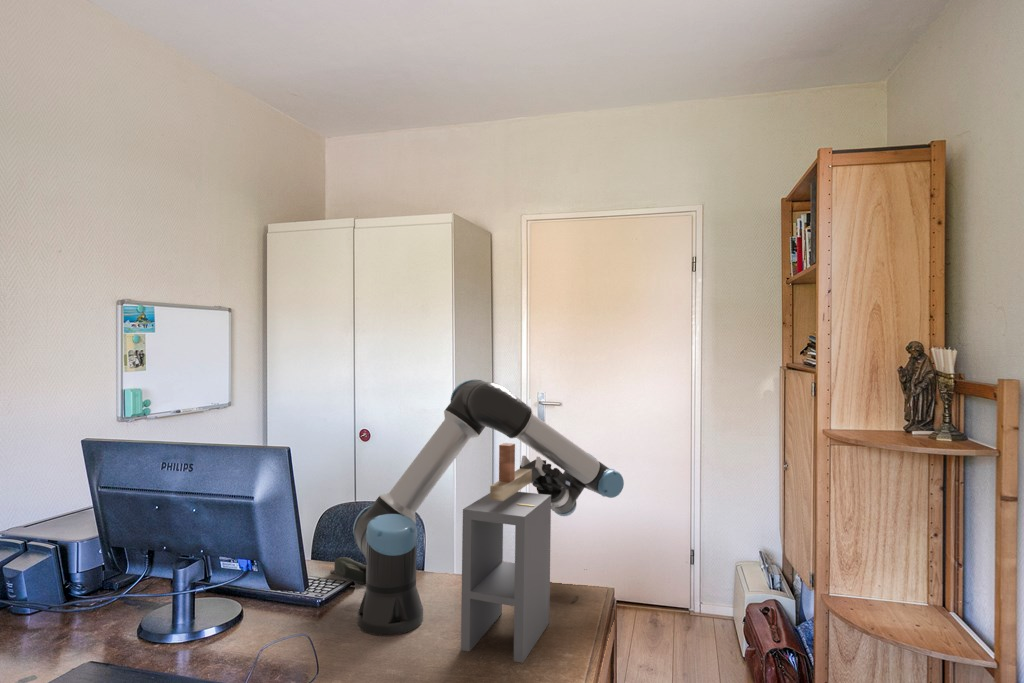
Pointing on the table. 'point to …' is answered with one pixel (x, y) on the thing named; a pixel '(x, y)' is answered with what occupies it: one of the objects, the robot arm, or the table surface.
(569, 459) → the robot arm
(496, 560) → the shelf
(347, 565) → the mobile phone
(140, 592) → the table surface
